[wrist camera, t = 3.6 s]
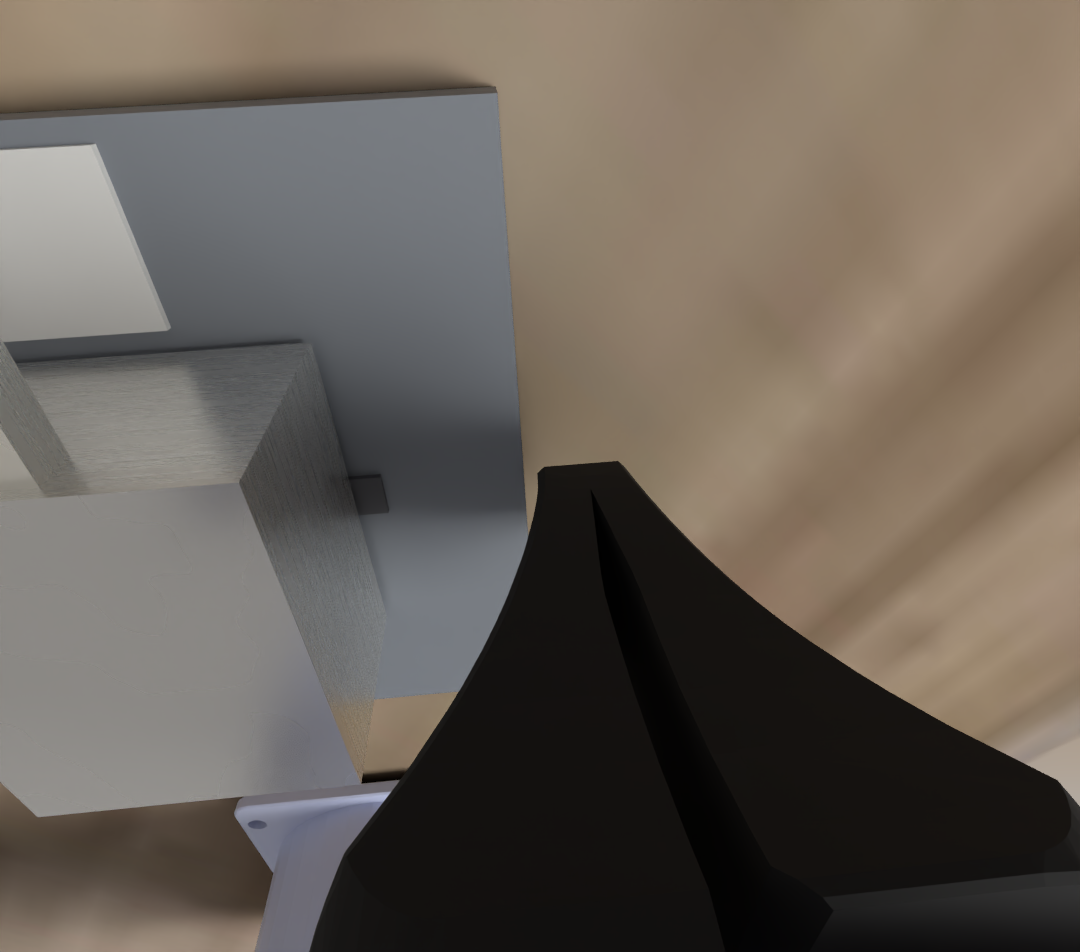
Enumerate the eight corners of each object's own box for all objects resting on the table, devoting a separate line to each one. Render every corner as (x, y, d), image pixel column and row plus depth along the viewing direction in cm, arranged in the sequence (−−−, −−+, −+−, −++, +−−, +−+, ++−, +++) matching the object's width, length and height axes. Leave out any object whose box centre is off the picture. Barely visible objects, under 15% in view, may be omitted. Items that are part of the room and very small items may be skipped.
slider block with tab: (386, 616, 13) (360, 784, 10) (136, 639, 13) (38, 817, 10) (232, 58, 7) (74, 79, 4) (-222, 81, 7) (-697, 122, 4)
